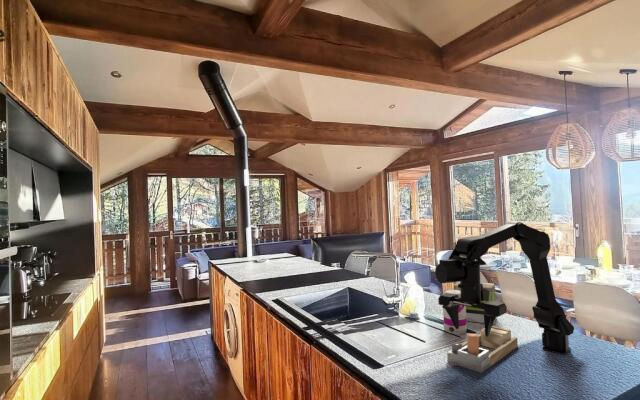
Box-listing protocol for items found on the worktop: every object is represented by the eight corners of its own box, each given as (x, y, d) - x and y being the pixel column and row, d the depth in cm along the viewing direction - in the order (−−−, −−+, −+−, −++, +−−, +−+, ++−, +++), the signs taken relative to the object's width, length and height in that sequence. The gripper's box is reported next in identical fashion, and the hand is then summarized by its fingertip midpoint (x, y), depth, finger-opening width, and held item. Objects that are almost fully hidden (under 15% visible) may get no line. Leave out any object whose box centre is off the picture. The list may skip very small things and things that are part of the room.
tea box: (497, 318, 153) (495, 282, 153) (493, 325, 144) (492, 287, 144) (459, 313, 161) (458, 279, 161) (454, 319, 152) (453, 284, 152)
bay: (517, 346, 122) (517, 337, 122) (490, 366, 108) (490, 356, 109) (486, 338, 130) (485, 330, 130) (457, 356, 116) (456, 346, 116)
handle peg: (476, 358, 107) (475, 338, 107) (465, 355, 109) (464, 335, 110) (481, 355, 109) (480, 335, 109) (470, 352, 112) (469, 332, 112)
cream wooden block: (511, 345, 123) (510, 329, 123) (503, 351, 119) (502, 334, 119) (490, 339, 129) (489, 324, 129) (481, 345, 124) (480, 329, 124)
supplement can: (468, 335, 134) (467, 294, 134) (445, 334, 136) (443, 294, 136) (464, 327, 142) (463, 289, 142) (442, 327, 144) (441, 289, 144)
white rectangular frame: (491, 366, 109) (490, 349, 109) (481, 373, 104) (480, 355, 104) (457, 355, 117) (457, 340, 117) (447, 362, 112) (446, 345, 112)
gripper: (513, 280, 108) (515, 333, 108) (454, 272, 122) (455, 319, 122) (497, 286, 101) (499, 343, 100) (436, 277, 115) (438, 327, 114)
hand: (471, 332), depth 109 cm, fingers open, 9 cm apart
